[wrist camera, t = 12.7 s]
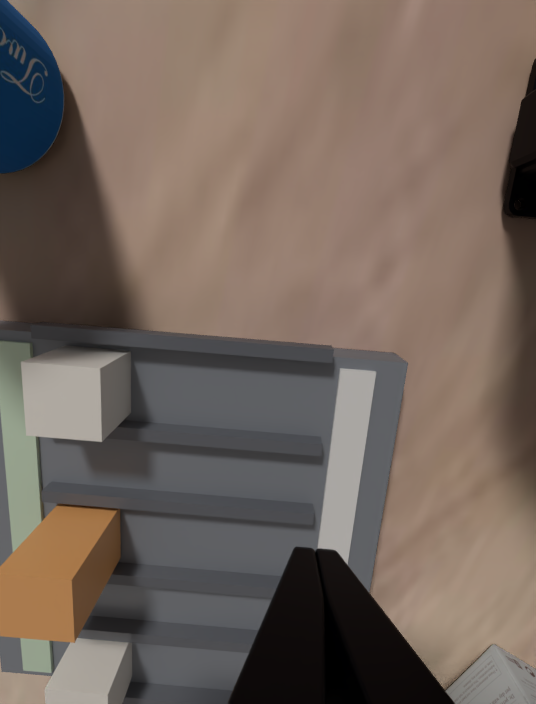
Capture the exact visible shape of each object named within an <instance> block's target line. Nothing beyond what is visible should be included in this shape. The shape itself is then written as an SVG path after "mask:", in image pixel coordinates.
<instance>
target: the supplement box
mask: <svg viewBox="0 0 536 704" xmlns="http://www.w3.org/2000/svg"><path fill="white" fill-rule="evenodd" d="M446 692H447V694H448V695H449V696H450V698H451V699H452V700H453V702H454V703H455V704H536V669H535V668H533V667H531V666H530V665H528V664H526V663H525V662H523V661H522V660H520V659H518V658H517V657H515V656H513V655H512V654H510V653H508V652H507V651H505V650H503V649H502V648H500V647H498V646H497V645H494V644H493V645H491V646H490V647H489V648H488V649H487V650H486V651H485V652H484V653H483V654H482V655H481V656H480V657H479V658H478V659H477V660H476V661H475V662H474V663H473V664H472V665H471V666H470V667H469V668H468V669H467V670H466V671H465V672H464V673H463V674H462V675H461V676H460V677H459V678H458V679H457V680H456V681H455V682H454V683H453V684H452V685H451V686H450V687H449V688H448V689H447V690H446Z"/></svg>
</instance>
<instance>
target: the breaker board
mask: <svg viewBox="0 0 536 704" xmlns="http://www.w3.org/2000/svg"><path fill="white" fill-rule="evenodd" d="M407 366H408V363H407V362H406V361H405V360H403V359H402V358H401V357H399V356H398V355H397V354H395V353H389V352H377V351H365V350H353V349H340V348H333V347H332V346H329V345H317V344H304V343H292V342H280V341H268V340H256V339H244V338H231V337H219V336H207V335H195V334H183V333H170V332H158V331H146V330H134V329H122V328H110V327H97V326H85V325H73V324H61V323H49V322H40V323H24V322H12V321H0V566H1V565H2V564H3V563H4V562H5V561H6V560H7V559H8V557H9V556H10V555H11V554H12V553H13V552H14V551H15V550H16V549H17V548H18V547H19V546H20V544H21V543H22V542H23V541H24V540H25V539H26V538H27V537H28V536H29V535H30V534H31V533H32V532H33V530H34V529H35V528H36V527H37V526H38V525H39V524H40V523H41V522H42V521H43V520H44V519H45V517H46V516H47V515H48V514H49V513H50V512H51V511H52V510H53V509H54V508H55V507H56V506H57V504H58V503H60V504H71V505H83V506H95V507H106V508H118V509H120V534H121V558H120V560H119V562H118V563H117V565H116V567H115V569H114V571H113V573H112V575H111V576H110V578H109V580H108V582H107V584H106V586H105V587H104V589H103V591H102V593H101V595H100V597H99V599H98V600H97V602H96V604H95V606H94V608H93V610H92V612H91V613H90V615H89V617H88V619H87V621H86V623H85V625H84V626H83V628H82V630H81V632H80V634H79V636H78V638H77V639H76V641H75V643H71V642H60V641H49V640H37V639H26V638H14V637H3V636H0V659H1V668H2V672H13V673H24V674H35V675H47V676H52V677H51V679H50V680H49V682H48V684H47V686H46V688H45V702H46V704H228V700H229V698H230V696H231V693H232V691H233V689H234V686H235V684H236V682H237V679H238V677H239V675H240V672H241V670H242V668H243V665H244V663H245V661H246V658H247V656H248V654H249V651H250V649H251V646H252V644H253V642H254V639H255V637H256V635H257V632H258V630H259V628H260V625H261V623H262V621H263V618H264V616H265V614H266V611H267V609H268V607H269V604H270V602H271V600H272V597H273V595H274V593H275V590H276V588H277V586H278V583H279V581H280V579H281V576H282V574H283V572H284V569H285V567H286V565H287V562H288V560H289V558H290V555H291V553H292V551H293V549H294V547H296V546H299V547H310V548H313V549H314V550H316V549H318V548H322V549H333V550H336V551H337V552H338V553H339V554H340V556H341V557H342V558H343V560H344V561H345V562H346V564H347V565H348V566H349V567H350V569H351V570H352V571H353V573H354V574H355V575H356V576H357V578H358V579H359V580H360V582H361V583H362V584H363V585H364V587H365V588H366V589H367V591H368V592H369V591H370V585H371V580H372V574H373V568H374V562H375V556H376V550H377V544H378V538H379V532H380V526H381V520H382V514H383V508H384V502H385V496H386V491H387V485H388V479H389V473H390V467H391V461H392V455H393V449H394V443H395V437H396V431H397V425H398V419H399V413H400V407H401V401H402V396H403V390H404V384H405V378H406V372H407Z"/></svg>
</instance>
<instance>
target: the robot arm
mask: <svg viewBox="0 0 536 704" xmlns="http://www.w3.org/2000/svg"><path fill="white" fill-rule="evenodd" d="M509 162H510V164H511V171H510V176H509V181H508V186H507V191H506V196H505V200H504V212H505V214H507V215H508V216H510V217H516V218H528V219H536V59H535V60H534V63H533V66H532V70H531V75H530V80H529V85H528V90H527V94H526V97H525V98H524V99H523V100H522V102H521V106H520V111H519V116H518V121H517V126H516V131H515V135H514V140H513V145H512V150H511V155H510V160H509ZM516 200H519V202H520V208H519V209H518V210H517V209H516V208H515V206H514V203H515V201H516ZM228 704H455V703H454V702H453V700H452V699H451V698H450V696H449V695H448V694H447V692H446V691H445V690H444V689H443V687H442V686H441V685H440V683H439V682H438V681H437V680H436V678H435V677H434V676H433V674H432V673H431V672H430V671H429V669H428V668H427V667H426V665H425V664H424V663H423V662H422V660H421V659H420V658H419V656H418V655H417V654H416V652H415V651H414V650H413V649H412V647H411V646H410V645H409V643H408V642H407V641H406V640H405V638H404V637H403V636H402V634H401V633H400V632H399V631H398V629H397V628H396V627H395V625H394V624H393V623H392V622H391V620H390V619H389V618H388V616H387V615H386V614H385V613H384V611H383V610H382V609H381V607H380V606H379V605H378V603H377V602H376V601H375V600H374V598H373V597H372V596H371V594H370V593H369V592H368V591H367V589H366V588H365V587H364V585H363V584H362V583H361V582H360V580H359V579H358V578H357V576H356V575H355V574H354V573H353V571H352V570H351V569H350V567H349V566H348V565H347V564H346V562H345V561H344V560H343V558H342V557H341V556H340V554H339V553H338V552H337V551H336V550H333V549H322V548H318V549H316V550H314V549H313V548H310V547H299V546H296V547H294V549H293V551H292V553H291V555H290V558H289V560H288V562H287V565H286V567H285V569H284V572H283V574H282V576H281V579H280V581H279V583H278V586H277V588H276V590H275V593H274V595H273V597H272V600H271V602H270V604H269V607H268V609H267V611H266V614H265V616H264V618H263V621H262V623H261V625H260V628H259V630H258V632H257V635H256V637H255V639H254V642H253V644H252V646H251V649H250V651H249V654H248V656H247V658H246V661H245V663H244V665H243V668H242V670H241V672H240V675H239V677H238V679H237V682H236V684H235V686H234V689H233V691H232V693H231V696H230V698H229V700H228Z"/></svg>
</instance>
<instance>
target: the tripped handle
mask: <svg viewBox="0 0 536 704" xmlns="http://www.w3.org/2000/svg"><path fill="white" fill-rule="evenodd" d="M120 558H121V534H120V509H118V508H106V507H95V506H83V505H71V504H60V503H58V504H57V506H56V507H55V508H54V509H53V510H52V511H51V512H50V513H49V514H48V515H47V516H46V517H45V519H44V520H43V521H42V522H41V523H40V524H39V525H38V526H37V527H36V528H35V529H34V530H33V532H32V533H31V534H30V535H29V536H28V537H27V538H26V539H25V540H24V541H23V542H22V543H21V544H20V546H19V547H18V548H17V549H16V550H15V551H14V552H13V553H12V554H11V555H10V556H9V557H8V559H7V560H6V561H5V562H4V563H3V564H2V565H1V566H0V636H3V637H14V638H26V639H37V640H49V641H60V642H71V643H75V641H76V639H77V638H78V636H79V634H80V632H81V630H82V628H83V626H84V625H85V623H86V621H87V619H88V617H89V615H90V613H91V612H92V610H93V608H94V606H95V604H96V602H97V600H98V599H99V597H100V595H101V593H102V591H103V589H104V587H105V586H106V584H107V582H108V580H109V578H110V576H111V575H112V573H113V571H114V569H115V567H116V565H117V563H118V562H119V560H120Z"/></svg>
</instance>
